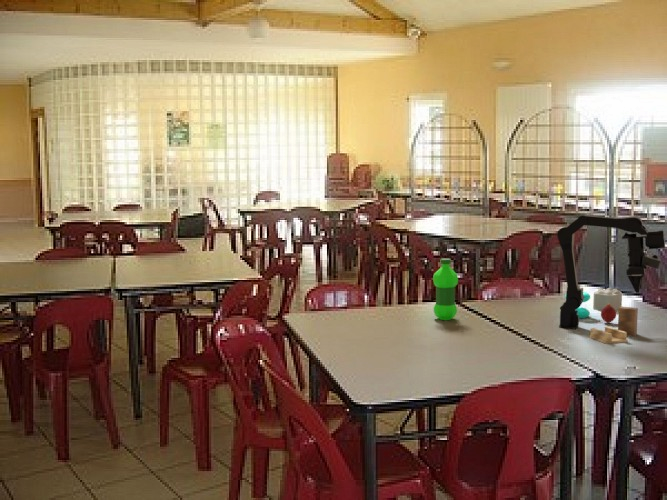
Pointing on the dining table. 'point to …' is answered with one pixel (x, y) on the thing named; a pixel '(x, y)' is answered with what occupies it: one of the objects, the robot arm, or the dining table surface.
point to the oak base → (608, 335)
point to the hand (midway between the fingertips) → (638, 290)
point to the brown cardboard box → (628, 320)
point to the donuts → (582, 311)
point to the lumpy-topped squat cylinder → (607, 299)
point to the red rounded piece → (608, 313)
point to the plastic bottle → (445, 291)
